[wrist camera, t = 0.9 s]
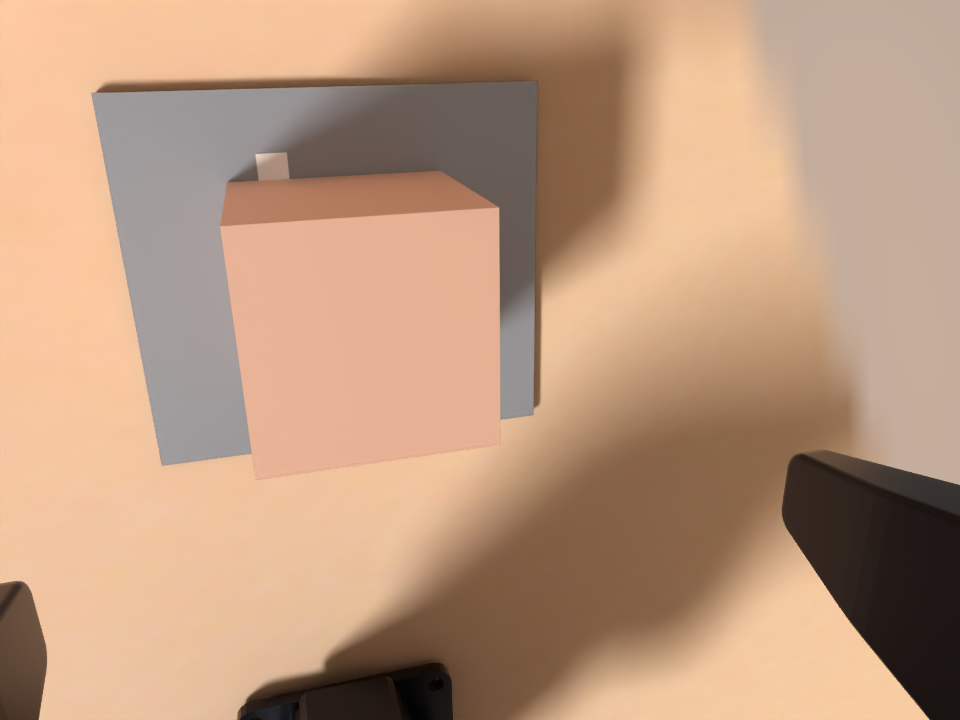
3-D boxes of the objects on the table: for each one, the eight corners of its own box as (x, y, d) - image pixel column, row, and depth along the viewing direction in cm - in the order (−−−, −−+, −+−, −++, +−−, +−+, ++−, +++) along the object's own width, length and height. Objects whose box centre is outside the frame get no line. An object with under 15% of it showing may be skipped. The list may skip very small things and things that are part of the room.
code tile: (530, 411, 23) (533, 415, 22) (163, 461, 20) (161, 466, 20) (534, 80, 19) (538, 81, 19) (93, 92, 17) (91, 93, 17)
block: (446, 360, 21) (500, 444, 16) (253, 382, 20) (255, 480, 15) (440, 170, 19) (499, 207, 15) (227, 182, 18) (220, 226, 13)
